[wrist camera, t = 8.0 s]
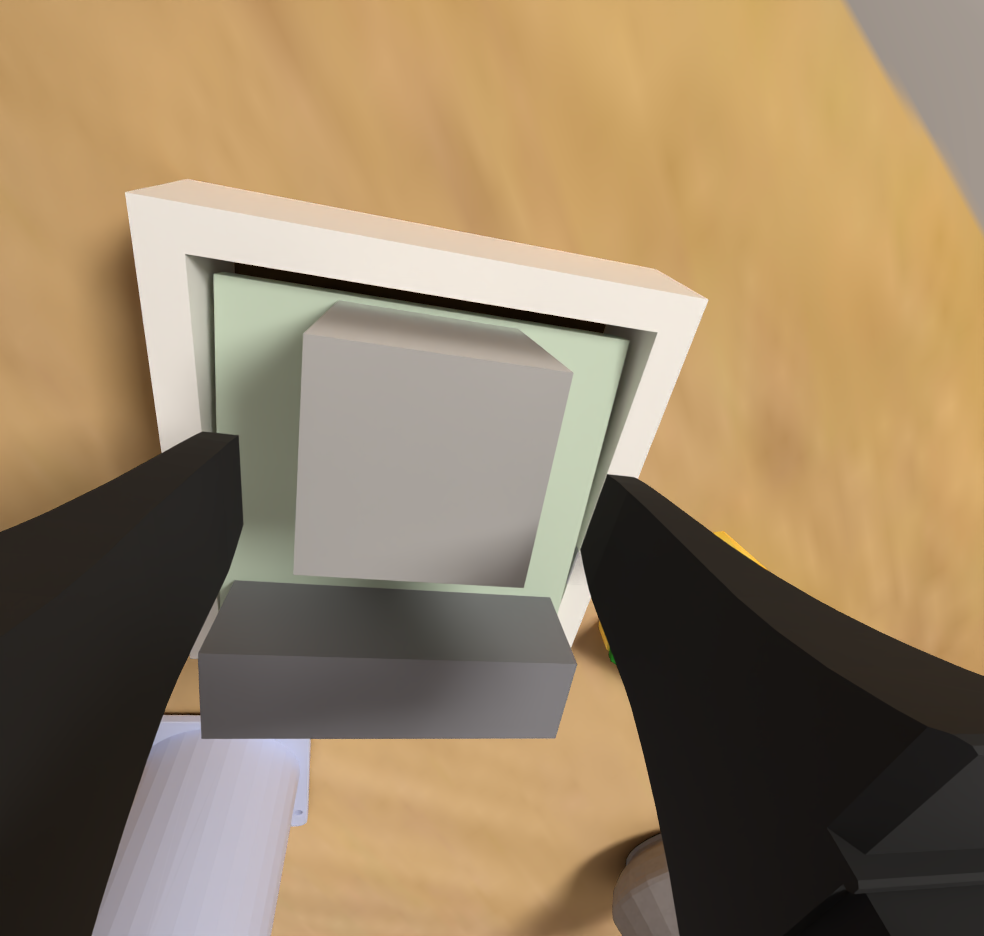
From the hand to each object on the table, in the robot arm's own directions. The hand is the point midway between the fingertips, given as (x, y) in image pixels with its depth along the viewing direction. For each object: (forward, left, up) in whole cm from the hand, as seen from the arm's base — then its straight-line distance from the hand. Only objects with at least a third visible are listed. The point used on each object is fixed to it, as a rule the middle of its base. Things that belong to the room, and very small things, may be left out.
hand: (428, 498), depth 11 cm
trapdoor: (-3, 0, -5) cm, 6 cm away
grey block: (0, 0, -4) cm, 4 cm away
